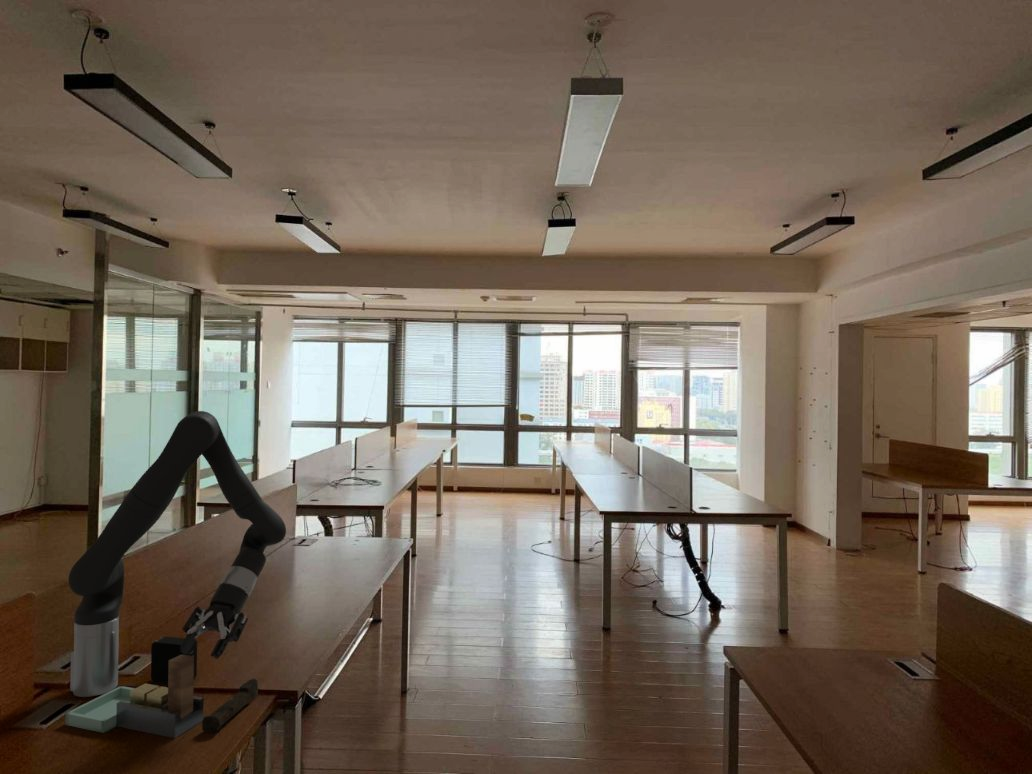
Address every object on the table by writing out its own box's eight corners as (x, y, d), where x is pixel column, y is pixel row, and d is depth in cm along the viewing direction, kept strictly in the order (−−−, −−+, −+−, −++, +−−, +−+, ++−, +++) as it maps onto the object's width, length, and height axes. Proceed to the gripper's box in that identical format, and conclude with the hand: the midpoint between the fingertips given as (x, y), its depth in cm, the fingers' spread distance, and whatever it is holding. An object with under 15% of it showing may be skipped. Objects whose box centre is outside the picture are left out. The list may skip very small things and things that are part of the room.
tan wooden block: (162, 716, 140) (163, 661, 140) (179, 706, 145) (180, 652, 145) (178, 719, 139) (179, 664, 139) (195, 709, 144) (196, 655, 144)
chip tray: (65, 724, 142) (65, 713, 142) (120, 696, 156) (120, 685, 156) (103, 733, 139) (104, 721, 139) (157, 703, 152) (157, 692, 152)
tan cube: (129, 709, 143) (130, 691, 143) (144, 701, 147) (145, 683, 147) (144, 712, 142) (144, 693, 142) (158, 703, 146) (159, 685, 146)
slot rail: (116, 726, 142) (116, 703, 142) (146, 709, 150) (147, 687, 150) (174, 738, 137) (175, 714, 137) (203, 720, 145) (203, 697, 145)
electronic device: (185, 685, 162) (186, 645, 162) (150, 681, 164) (151, 642, 164) (196, 678, 166) (197, 639, 166) (162, 674, 168) (163, 636, 168)
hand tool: (217, 736, 139) (217, 714, 139) (200, 734, 140) (201, 712, 140) (267, 696, 157) (268, 677, 158) (252, 694, 158) (253, 675, 158)
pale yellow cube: (146, 712, 142) (146, 694, 142) (161, 704, 146) (161, 686, 146) (161, 715, 141) (161, 696, 141) (175, 706, 145) (175, 689, 145)
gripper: (202, 579, 157) (164, 643, 146) (252, 584, 153) (216, 651, 142) (218, 594, 162) (182, 658, 151) (266, 600, 158) (232, 666, 147)
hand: (198, 655), depth 147 cm, fingers open, 8 cm apart
